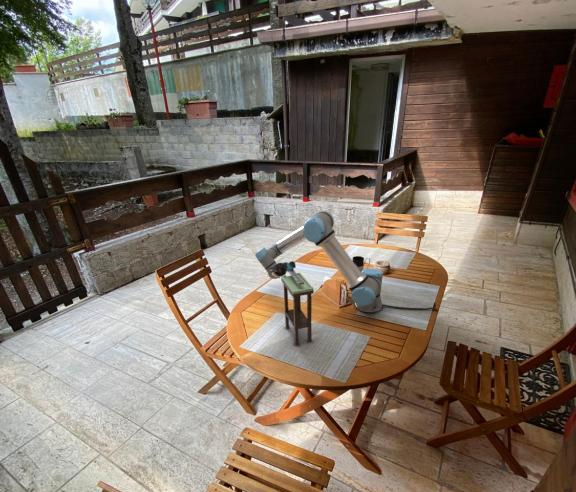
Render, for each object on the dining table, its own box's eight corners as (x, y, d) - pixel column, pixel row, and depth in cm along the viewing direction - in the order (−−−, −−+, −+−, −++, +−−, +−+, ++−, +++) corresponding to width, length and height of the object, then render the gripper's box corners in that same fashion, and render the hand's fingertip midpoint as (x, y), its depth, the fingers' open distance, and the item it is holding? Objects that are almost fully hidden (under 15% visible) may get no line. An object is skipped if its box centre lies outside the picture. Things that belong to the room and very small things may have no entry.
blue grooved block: (282, 265, 161) (282, 263, 161) (288, 264, 162) (287, 262, 161) (298, 285, 142) (298, 282, 141) (304, 284, 142) (304, 281, 142)
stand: (283, 327, 170) (281, 277, 155) (301, 323, 172) (300, 274, 157) (294, 346, 155) (292, 294, 140) (313, 342, 158) (313, 290, 143)
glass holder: (347, 277, 219) (349, 257, 211) (364, 273, 223) (366, 253, 216) (354, 282, 212) (356, 261, 204) (372, 278, 216) (374, 257, 209)
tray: (281, 278, 155) (281, 275, 154) (300, 274, 157) (300, 272, 157) (293, 294, 140) (292, 292, 140) (313, 290, 143) (313, 288, 142)
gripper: (293, 274, 178) (306, 269, 156) (266, 279, 174) (275, 274, 152) (291, 261, 178) (303, 254, 155) (263, 265, 174) (272, 259, 151)
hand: (289, 264), depth 154 cm, fingers closed on blue grooved block, 3 cm apart
